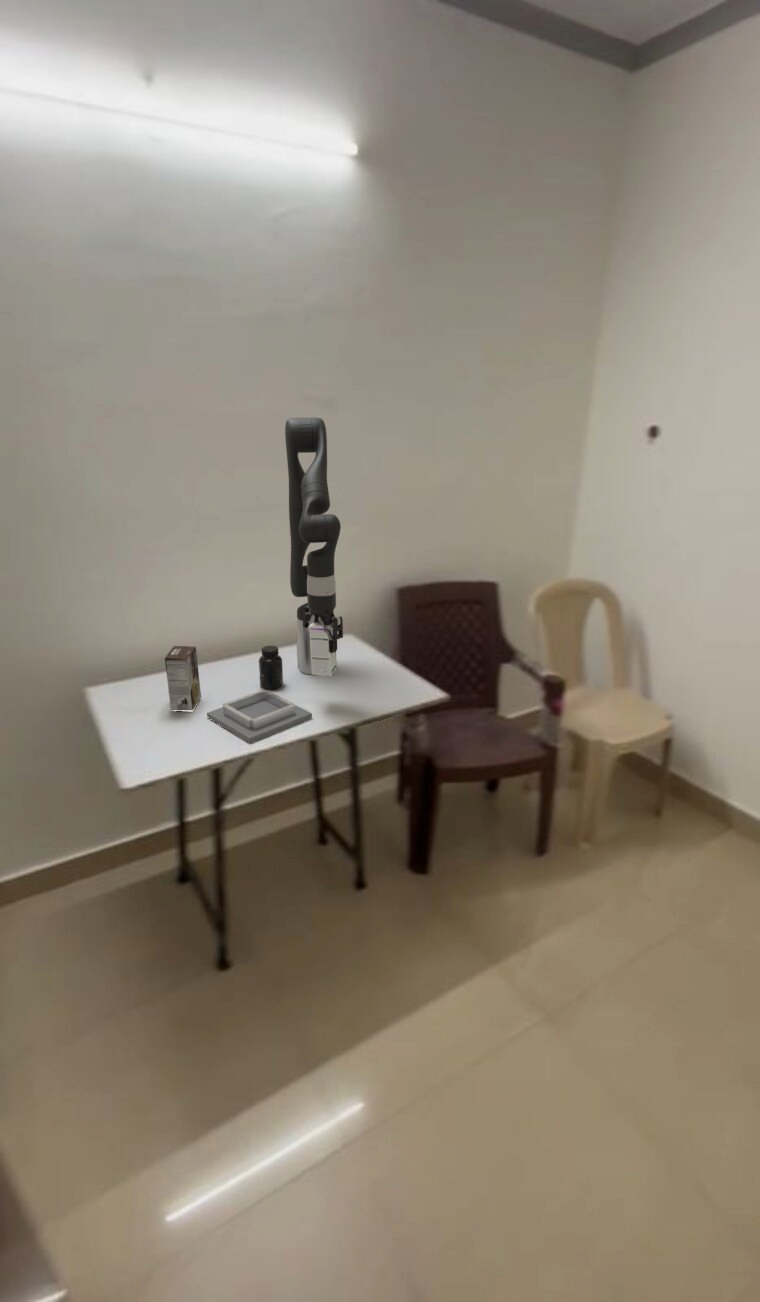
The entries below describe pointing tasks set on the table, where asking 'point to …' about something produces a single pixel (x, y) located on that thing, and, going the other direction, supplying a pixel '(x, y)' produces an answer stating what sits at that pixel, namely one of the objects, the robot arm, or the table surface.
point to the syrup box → (321, 651)
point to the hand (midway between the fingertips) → (323, 647)
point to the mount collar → (263, 720)
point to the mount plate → (254, 712)
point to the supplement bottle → (270, 668)
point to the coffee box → (183, 678)
